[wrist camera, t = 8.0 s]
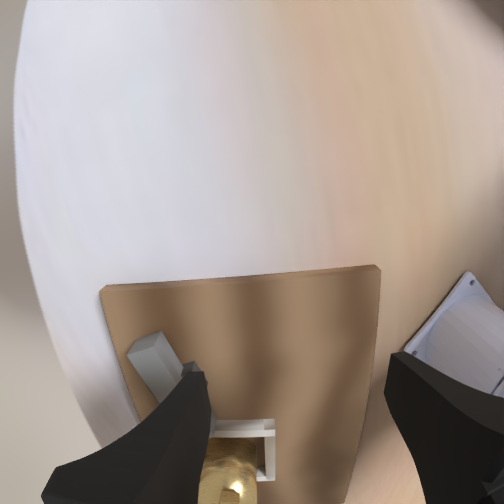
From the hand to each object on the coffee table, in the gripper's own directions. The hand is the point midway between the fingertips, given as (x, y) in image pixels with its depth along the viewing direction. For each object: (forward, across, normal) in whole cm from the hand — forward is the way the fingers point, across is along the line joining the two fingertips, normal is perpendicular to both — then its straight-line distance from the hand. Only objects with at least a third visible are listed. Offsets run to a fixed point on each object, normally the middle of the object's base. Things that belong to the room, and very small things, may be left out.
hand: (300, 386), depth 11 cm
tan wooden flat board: (+9, +2, +13) cm, 16 cm away
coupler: (+8, +5, +14) cm, 17 cm away
